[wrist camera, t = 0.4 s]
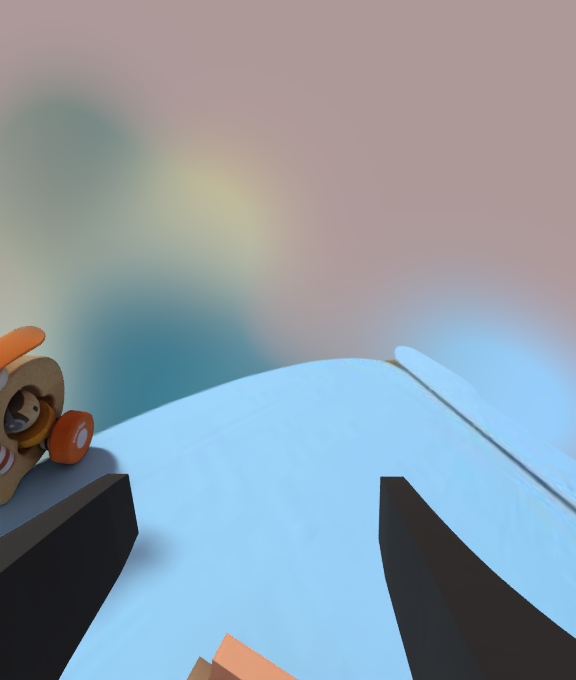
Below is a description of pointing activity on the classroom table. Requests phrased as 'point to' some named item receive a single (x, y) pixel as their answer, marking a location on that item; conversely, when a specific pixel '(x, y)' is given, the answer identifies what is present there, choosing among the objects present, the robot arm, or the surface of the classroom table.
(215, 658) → the orange rectangular block
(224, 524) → the classroom table surface
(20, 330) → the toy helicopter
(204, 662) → the open wooden crate
